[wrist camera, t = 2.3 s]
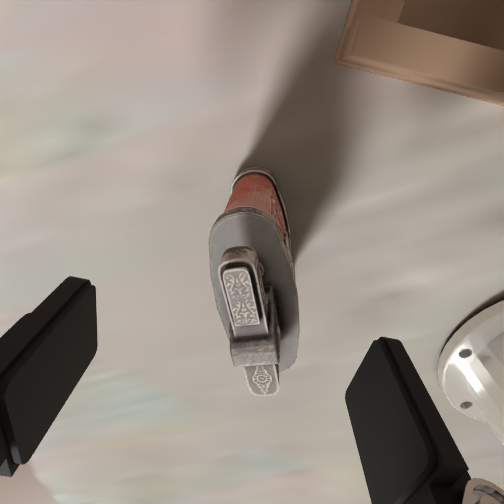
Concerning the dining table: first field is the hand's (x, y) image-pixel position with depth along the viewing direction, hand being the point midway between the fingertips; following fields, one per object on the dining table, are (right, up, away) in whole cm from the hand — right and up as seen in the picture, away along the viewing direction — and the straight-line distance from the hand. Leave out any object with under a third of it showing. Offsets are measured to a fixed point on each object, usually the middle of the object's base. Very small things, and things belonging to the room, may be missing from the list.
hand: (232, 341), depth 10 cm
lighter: (+1, +4, +9) cm, 10 cm away
